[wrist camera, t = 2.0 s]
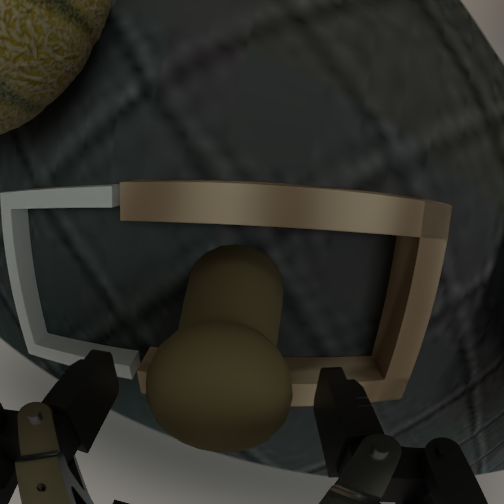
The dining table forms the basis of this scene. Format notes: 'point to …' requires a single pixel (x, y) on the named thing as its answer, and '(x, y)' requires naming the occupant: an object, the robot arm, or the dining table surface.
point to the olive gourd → (224, 356)
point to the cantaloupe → (43, 52)
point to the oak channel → (324, 218)
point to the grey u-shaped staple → (24, 274)
